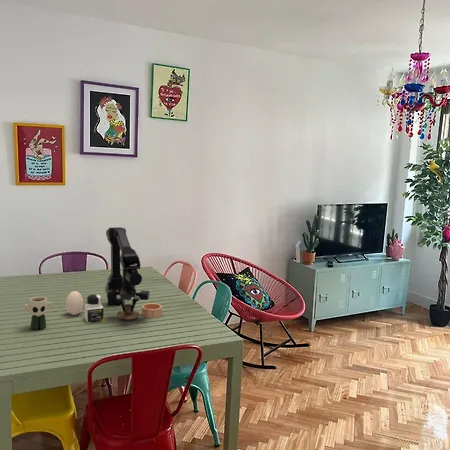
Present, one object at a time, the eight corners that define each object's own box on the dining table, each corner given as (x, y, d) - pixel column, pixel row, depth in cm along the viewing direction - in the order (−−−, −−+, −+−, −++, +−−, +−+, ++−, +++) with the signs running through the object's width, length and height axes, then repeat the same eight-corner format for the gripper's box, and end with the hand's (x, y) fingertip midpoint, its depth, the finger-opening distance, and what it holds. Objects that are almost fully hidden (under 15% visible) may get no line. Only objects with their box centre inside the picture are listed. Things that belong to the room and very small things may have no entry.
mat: (113, 323, 207) (113, 322, 207) (118, 315, 218) (118, 314, 218) (137, 324, 207) (137, 323, 207) (141, 316, 218) (141, 315, 218)
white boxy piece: (87, 324, 204) (87, 298, 202) (84, 319, 210) (84, 294, 209) (103, 322, 208) (103, 297, 206) (100, 317, 214) (100, 292, 212)
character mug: (25, 332, 192) (25, 302, 190) (23, 326, 198) (23, 297, 196) (53, 329, 197) (52, 300, 195) (50, 323, 203) (50, 295, 201)
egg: (78, 310, 221) (78, 287, 220) (86, 315, 216) (86, 291, 214) (62, 314, 216) (62, 290, 214) (70, 318, 210) (70, 294, 208)
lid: (115, 319, 207) (115, 308, 206) (119, 311, 217) (119, 301, 216) (137, 319, 207) (137, 309, 206) (140, 312, 217) (141, 302, 216)
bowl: (140, 318, 215) (140, 309, 214) (143, 311, 224) (143, 302, 223) (160, 319, 215) (160, 310, 214) (162, 312, 224) (163, 303, 224)
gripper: (104, 283, 201) (103, 317, 204) (146, 285, 202) (145, 319, 204) (110, 277, 212) (109, 309, 215) (150, 278, 213) (149, 310, 215)
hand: (128, 312), depth 212 cm, fingers closed on lid, 3 cm apart
